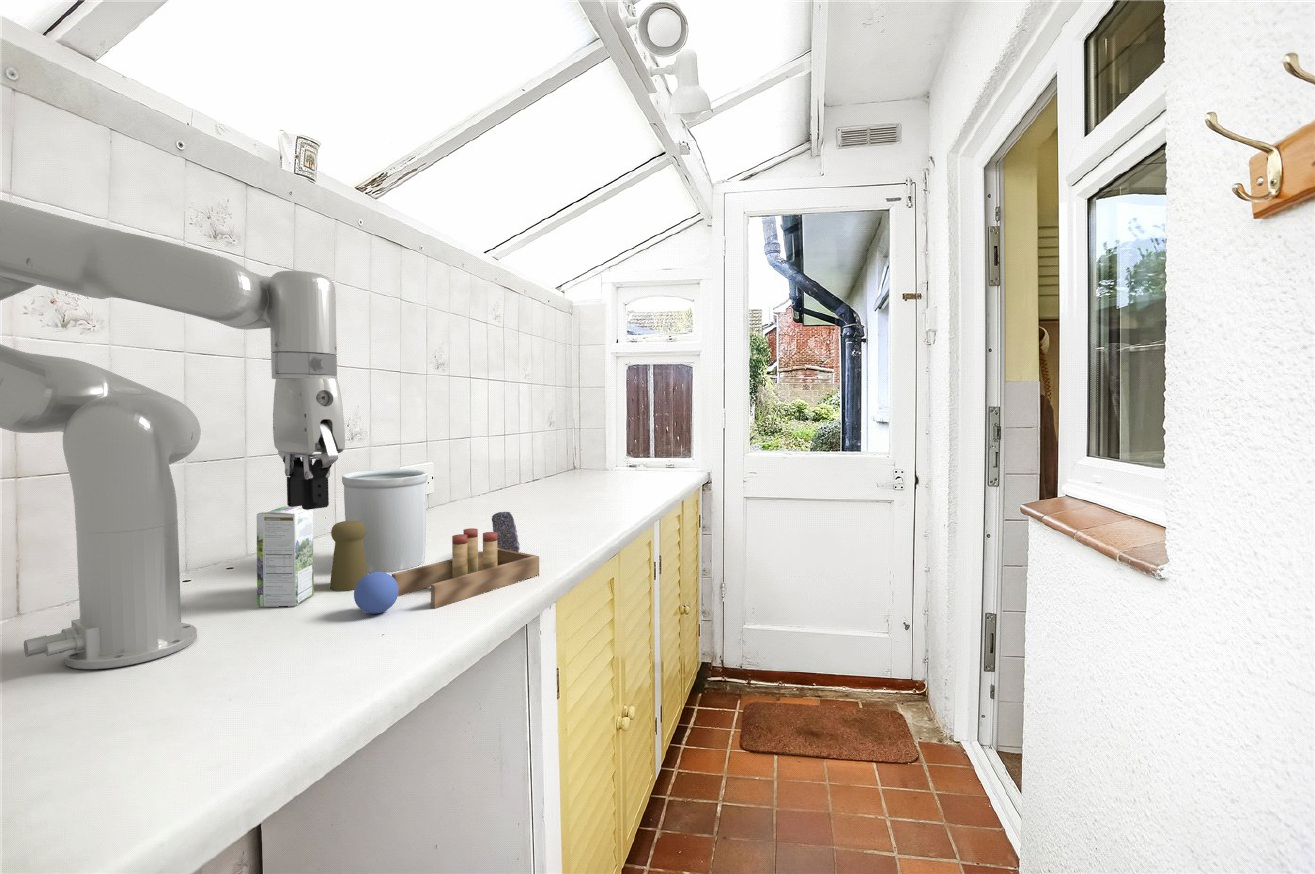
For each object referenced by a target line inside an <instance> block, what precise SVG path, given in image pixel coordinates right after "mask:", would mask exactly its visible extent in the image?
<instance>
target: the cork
mask: <svg viewBox="0 0 1315 874" xmlns="http://www.w3.org/2000/svg"><path fill="white" fill-rule="evenodd" d="M330 532H331V533H330V534H331V539H332V540H333V541H334V542H335V543H334V550H333V557H332V567H331V571H330V572H331V574H330V582H329V590H330V591H333V592H350V591H354V590H355V587H356V585H357V583H358V582H359V580H360V579H361V578H363V577H364V576H365V575H367V574H369V573H368V572H367V566H366V560H365V554H364V547H363V541H362V539H363V538H364V537H365V534H366V528H365V525H364V524H363V523H362V522H360V521H345V520H343V521H340V522H336V523H335V524H333V526H332V528H331V530H330Z"/></svg>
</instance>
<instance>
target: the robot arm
mask: <svg viewBox="0 0 1315 874" xmlns="http://www.w3.org/2000/svg"><path fill="white" fill-rule="evenodd" d="M36 286H43V287H45V288H49V289H55V290H59V291H64V292H68V293H71V294H74V295H75V294H76V295H78V296H79V295H80V296H84V297H89V298H93V299H98V300H105V299H110V298H116V299H122V300H128V301H131V302H137V303H141V304H146V305H150V306H154V307H159V308H162V309H167V310H171V311H175V312H178V313H179V312H180V313H182V314H187V315H190V316H194V317H197V318H202V319H206V320H209V321H212V322H214V323H215V322H216V323H219V324H221V325H224V326H227V327H230V328H233V329H236V330H261V329H270V330H269V331H270V363H271V364H270V365H271V366H270V369H271V379H273V380H275V383H274V393H273V403H272V404H273V408H272V409H273V410H272V433H273V435H272V436H273V437H272V438H273V445H274V449H276V450H277V454H278V456H279V457H280V458H281V459H282V462H283V464H284V475H285V476H286V498H287V499H286V500H287V505H286V506H289V507H296V506H300V507H302V508H303V509H304V510H310V509H313V510H316V509H324V508H327V507H329V504H330V501H329V495H330V494H329V478H330V476H331V467H333V466H332V465H333V464H335V463H336V461H338V459H339V454H341V453H342V452H343V451H344V450H345V448H346V432H345V431H346V430H345V420H344V419H345V416H344V407H343V400H342V393H341V389H340V385H339V384H340V383H339V381H338V357H337V355H338V353H337V349H338V348H337V347H338V346H337V311H336V310H337V305H336V304H337V303H336V302H337V300H336V298H337V297H336V287H335V283H334V282H333V280H332V279H331V278H329V277H328V276H326V275H324V274H321V273H317V272H312V271H303V270H281V271H276V272H275V273H273V274H272V276H264V275H260V274H258V273H255V272H254V271H253V272H252V271H251V270H249V269H247V268H246V267H244V266H243V265H241V264H239V263H237V262H236V261H233V260H231V259H229V258H227V257H223V256H220V255H218V254H217V255H216V254H215V253H214V254H213V253H210V252H206V251H203V250H201V249H200V250H199V249H195V248H193V247H192V248H191V247H187V246H184V245H180V244H176V243H172V242H170V241H166V240H161V239H159V238H158V239H157V238H154V237H149V236H145V235H141V234H135V233H130V232H125V231H121V230H119V229H114V228H113V229H112V228H110V227H109V228H108V227H105V226H100V225H97V224H93V223H88V222H85V221H80V220H78V219H74V218H70V217H65V216H62V215H59V214H54V213H51V212H47V211H44V210H40V209H36V208H32V207H29V206H25V205H21V204H17V203H13V202H10V201H6V200H3V199H0V302H1V301H3V300H5V299H9V298H10V297H13V296H16V295H17V294H20V293H23V292H25V291H28V290H29V289H32V288H33V287H36ZM195 414H196V413H194V411H192V409H191V408H189V406H187V405H186V404H185V403H183V402H181V401H180V400H178V399H176V398H173V397H172V396H169V395H167V394H164V393H162V392H160V391H158V390H156V389H152V388H150V387H148V386H145V385H144V384H141V383H138V382H136V381H134V380H131V379H129V378H126V377H124V376H122V375H119V374H117V373H115V372H112V371H109V370H108V369H105V368H103V367H100V366H97V365H95V364H91V363H90V362H85V361H82V360H79V359H74V358H69V357H62V356H53V355H47V354H46V355H45V354H39V353H38V354H37V353H32V352H31V353H30V352H25V351H22V350H19V349H15V348H14V347H9V346H7V345H4V344H1V343H0V429H3V430H7V431H9V432H13V433H19V434H21V433H22V434H23V433H25V434H42V433H55V432H56V433H57V432H60V433H63V434H62V448H63V454H64V455H63V456H64V459H65V463H66V466H67V470H68V474H69V477H70V483H71V489H72V494H73V503H74V505H73V507H74V518H75V520H74V521H75V532H76V533H75V534H76V535H75V536H76V537H75V538H76V554H77V556H76V557H77V579H78V583H77V584H78V605H79V618H77V619H71V626H70V627H66V628H63V629H61V631H60V632H59V633H54V634H51V635H41V636H37V637H33V638H27V639H24V640H23V650H24V651H23V652H24V654H25V656H26V658H28V657H32V656H36V655H41V654H45V655H46V657H49V656H55V655H58V654H63V663H64V665H65V666H67V667H69V668H72V669H79V670H101V669H102V670H103V669H104V670H105V669H112V668H118V667H119V668H120V667H127V666H132V665H136V664H141V663H146V662H149V661H153V660H156V659H159V658H163V657H165V656H169V655H172V654H174V653H176V652H178V651H179V652H180V650H183V649H185V648H187V647H188V646H189V645H191V644H193V643H194V641H195V640H197V637H198V632H197V628H196V626H195V625H192V624H190V623H185V622H182V604H181V580H180V579H181V577H180V574H181V572H180V548H179V545H180V544H179V543H180V542H179V522H178V521H179V519H178V503H177V502H178V501H177V495H176V494H177V493H176V488H175V483H174V478H173V476H172V473H171V468H170V465H171V464H174V463H176V462H180V461H181V460H184V459H185V458H186V457H188V456H189V455H190V454H192V453H193V452H194V450H196V448H197V446H198V444H199V443H200V440H201V434H202V433H201V432H202V431H201V429H202V428H201V425H200V422H199V419H198V418H197V416H196V415H195ZM315 452H316V453H315ZM314 453H315V454H314ZM313 460H314V461H313Z"/></svg>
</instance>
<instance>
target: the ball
mask: <svg viewBox="0 0 1315 874" xmlns="http://www.w3.org/2000/svg"><path fill="white" fill-rule="evenodd" d="M398 591H399V590H398V584H397V582H396V580H395V579H394V578H393V577H392V574H390V573H388V572H372V573H368V574H367V575H365V576H364V577H363V578H361V579H360V580H359V582H358V583H357V585H356V587H355V590H353V599H354V602H355V603H354V604H355V605H356V606H357V607H358V609H360V611H363V612H365V613H367V614H372V615H373V614H375V615H376V614H380V613H383V612H386V611H388V610H389V609H390V608H391V607H393V605H394V604H395V603H396V602H397V600H398V597H399V596H398Z"/></svg>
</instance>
